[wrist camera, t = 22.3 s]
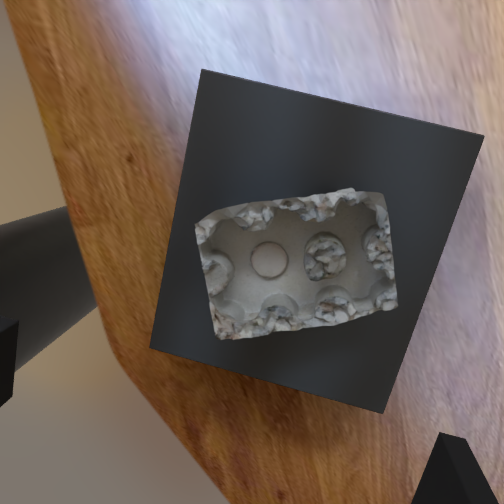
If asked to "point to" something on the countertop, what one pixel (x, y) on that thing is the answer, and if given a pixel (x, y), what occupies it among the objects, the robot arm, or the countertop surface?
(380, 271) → the egg carton
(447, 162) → the shelf
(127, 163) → the countertop surface
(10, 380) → the robot arm
